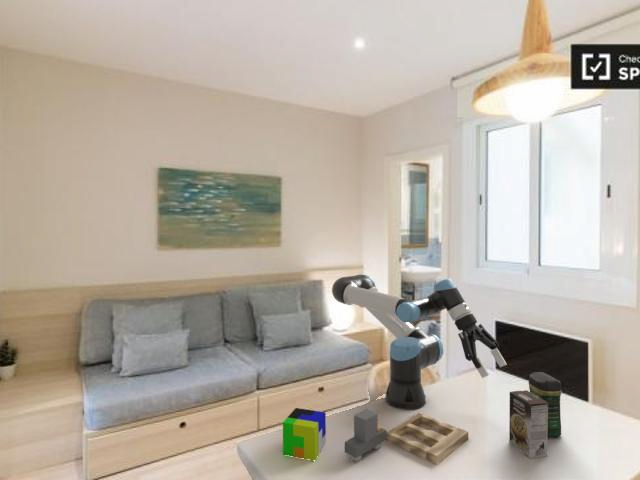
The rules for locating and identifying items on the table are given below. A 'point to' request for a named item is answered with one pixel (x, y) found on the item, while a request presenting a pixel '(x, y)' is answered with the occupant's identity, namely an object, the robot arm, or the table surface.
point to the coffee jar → (548, 399)
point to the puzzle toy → (304, 433)
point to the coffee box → (528, 423)
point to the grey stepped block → (365, 435)
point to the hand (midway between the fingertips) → (495, 371)
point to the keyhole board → (428, 437)
